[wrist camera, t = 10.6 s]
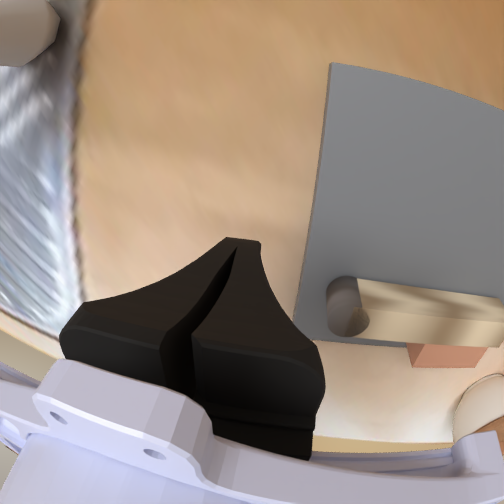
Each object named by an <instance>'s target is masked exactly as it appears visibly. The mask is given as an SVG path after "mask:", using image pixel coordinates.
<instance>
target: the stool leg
mask: <svg viewBox="0 0 504 504" xmlns="http://www.w3.org/2000/svg"><path fill="white" fill-rule="evenodd" d="M326 302H327V323H328V328H329V330H330V331H331V332H332V333H333V334H335V335H337V336H340V337H357V338H366V339H375V340H386V341H396V342H408V343H421V344H435V345H451V346H471V347H499V346H500V345H501V343H502V342H503V340H504V305H503V304H502V302H501V301H500V299H499V298H492V297H485V296H478V295H470V294H463V293H456V292H449V291H441V290H434V289H427V288H420V287H413V286H406V285H399V284H392V283H385V282H378V281H371V280H364V279H358V278H355V277H352V276H341V277H338V278H336V279H334V280H333V281H331V282H330V284H329V285H328V287H327V289H326Z"/></svg>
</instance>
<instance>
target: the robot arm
mask: <svg viewBox="0 0 504 504" xmlns="http://www.w3.org/2000/svg"><path fill="white" fill-rule="evenodd" d="M260 253H261V243H260V242H259V241H254V240H246V239H238V238H230V237H226V238H224V239H223V240H222V241H220V242H219V243H218V244H217V245H215V246H214V247H213V248H211V249H210V250H209V251H208V252H206V253H205V254H204V255H202V256H201V257H199V258H198V259H197V260H195V261H194V262H192V263H190V264H189V265H187V266H186V267H184V268H183V269H181V270H179V271H178V272H176V273H174V274H172V275H170V276H168V277H166V278H164V279H162V280H160V281H158V282H155V283H153V284H150V285H148V286H146V287H143V288H141V289H138V290H135V291H132V292H129V293H125V294H122V295H118V296H114V297H110V298H105V299H100V300H95V301H90V302H83V304H82V305H81V306H80V307H79V308H78V310H77V311H76V312H75V313H74V315H73V316H72V317H71V319H70V320H69V321H68V322H67V324H66V325H65V326H64V328H63V329H62V331H61V333H60V335H59V342H60V346H61V349H62V352H63V354H64V356H65V358H66V359H58V360H57V361H56V362H55V363H54V364H53V365H52V367H51V368H50V369H49V371H48V372H47V374H46V376H45V377H44V379H43V380H42V382H40V381H38V380H36V379H34V378H32V377H29V376H27V375H25V374H23V373H21V372H19V371H18V370H16V369H14V368H12V367H10V366H8V365H6V364H4V363H2V362H0V441H1V442H3V443H4V444H5V445H6V446H8V447H9V448H11V449H12V450H13V451H15V452H16V453H18V454H19V456H18V458H17V459H16V461H15V463H14V465H13V467H12V469H11V471H10V473H9V475H8V477H7V479H6V481H5V483H4V485H3V487H2V489H1V491H0V504H497V503H499V502H501V501H502V500H504V461H503V456H502V452H501V448H500V444H499V441H498V437H497V433H496V431H495V430H490V431H484V432H478V433H472V434H468V435H466V436H463V437H462V438H460V439H459V440H458V441H457V442H456V443H455V444H454V445H453V446H452V448H444V449H435V450H425V451H411V452H391V453H336V452H318V451H312V439H313V431H314V429H315V419H316V413H317V411H318V409H319V406H320V404H321V402H322V399H323V397H324V393H325V376H324V370H323V366H322V362H321V358H320V355H319V352H318V348H317V346H316V345H315V344H314V343H313V342H312V341H311V340H310V339H309V338H307V337H306V336H305V335H304V334H303V333H302V332H301V331H300V330H299V329H298V328H297V327H296V326H295V325H294V324H293V322H292V321H291V320H290V318H289V317H288V316H287V314H286V313H285V312H284V310H283V309H282V307H281V306H280V304H279V302H278V301H277V299H276V297H275V295H274V293H273V291H272V289H271V287H270V285H269V282H268V280H267V277H266V274H265V271H264V268H263V264H262V260H261V254H260Z"/></svg>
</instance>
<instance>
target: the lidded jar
mask: <svg viewBox="0 0 504 504" xmlns="http://www.w3.org/2000/svg"><path fill="white" fill-rule="evenodd" d="M490 430H495V431H496V433H497V437H498V441H499V444H500V448H501V452H502V456H503V455H504V376H503V375H501V374H493V375H489V376H486V377H484V378H482V379H480V380H478V381H477V382H475V383H474V384H472V385H471V386H470V387H469V388H468V389H467V390H466V391H465V392H464V394H463V396H462V400H461V402H460V403H459V405H458V407H457V409H456V412H455V415H454V419H453V442H454V444H455V443H456V442H457V441H458V440H459V439H460V438H462V437H463V436H466V435H468V434H472V433H478V432H484V431H490Z"/></svg>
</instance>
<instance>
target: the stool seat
mask: <svg viewBox="0 0 504 504" xmlns="http://www.w3.org/2000/svg"><path fill="white" fill-rule="evenodd" d="M341 276H352V277H355V278H358V279H364V280H371V281H378V282H385V283H392V284H399V285H406V286H413V287H420V288H427V289H434V290H441V291H449V292H456V293H463V294H470V295H478V296H485V297H492V298H499V299H500V301H501V302H502V304H503V305H504V111H503V110H501V109H498V108H496V107H494V106H491V105H489V104H486V103H484V102H481V101H478V100H476V99H473V98H470V97H468V96H465V95H462V94H459V93H456V92H453V91H450V90H447V89H444V88H441V87H438V86H435V85H431V84H428V83H425V82H421V81H418V80H414V79H410V78H406V77H402V76H399V75H394V74H390V73H386V72H381V71H377V70H372V69H367V68H362V67H357V66H352V65H346V64H340V63H334V62H332V63H330V64H329V72H328V83H327V92H326V102H325V111H324V120H323V128H322V137H321V145H320V152H319V160H318V168H317V175H316V182H315V189H314V196H313V203H312V210H311V216H310V223H309V229H308V235H307V241H306V248H305V254H304V259H303V265H302V271H301V277H300V282H299V288H298V294H297V299H296V304H295V310H294V315H293V321H292V322H293V324H294V325H295V326H296V327H297V328H298V329H299V330H300V331H301V332H302V333H303V334H304V335H305V336H306V337H307V338H309V339H312V340H321V341H331V342H341V343H351V344H363V345H375V346H389V347H405V348H407V349H408V353H409V357H410V361H411V365H412V367H421V368H475V366H476V365H477V363H478V362H479V360H480V359H481V358H482V356H483V355H484V353H485V352H486V350H487V348H488V347H471V346H451V345H435V344H421V343H408V342H396V341H386V340H375V339H366V338H357V337H340V336H337V335H335V334H333V333H332V332H331V331H330V330H329V328H328V323H327V302H326V289H327V287H328V285H329V284H330V282H331V281H333V280H334V279H336V278H338V277H341Z"/></svg>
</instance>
